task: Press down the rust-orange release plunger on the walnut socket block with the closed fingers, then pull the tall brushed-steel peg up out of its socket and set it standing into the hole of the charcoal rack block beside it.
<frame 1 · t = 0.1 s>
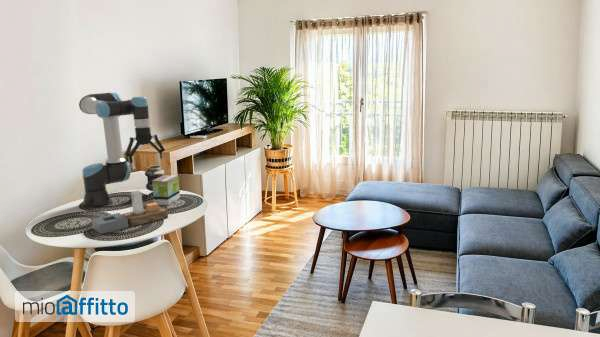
hand: (146, 166, 254), 28 cm above the table, fingers open, 13 cm apart
release plunger: (152, 208, 258), point 5 cm above the table, slide at 0.0 cm
socket block: (145, 219, 256), on the table
steel peg: (139, 220, 254), resting in socket block
apothecary jar: (156, 194, 304), on the table
tea box: (167, 201, 288), on the table
rack block: (110, 227, 245), on the table
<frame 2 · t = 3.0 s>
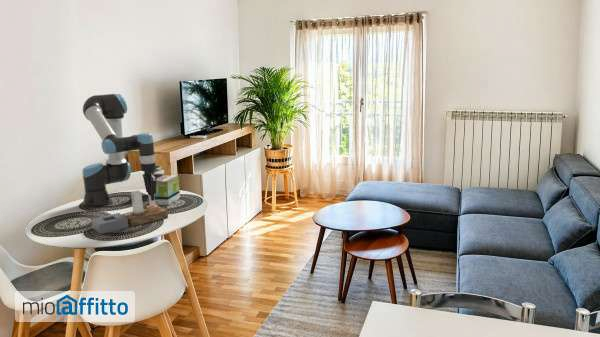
hand: (152, 205, 257), 7 cm above the table, fingers closed
release plunger: (153, 210, 258), point 4 cm above the table, slide at 1.2 cm
everything else where it was.
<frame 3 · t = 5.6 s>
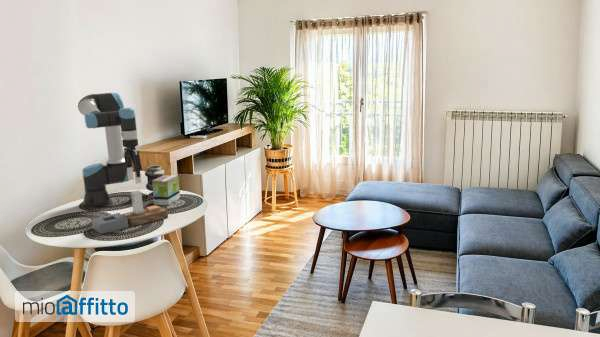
hand: (134, 181, 249), 22 cm above the table, fingers open, 9 cm apart
release plunger: (153, 211, 258), point 3 cm above the table, slide at 1.8 cm
everything else where it was.
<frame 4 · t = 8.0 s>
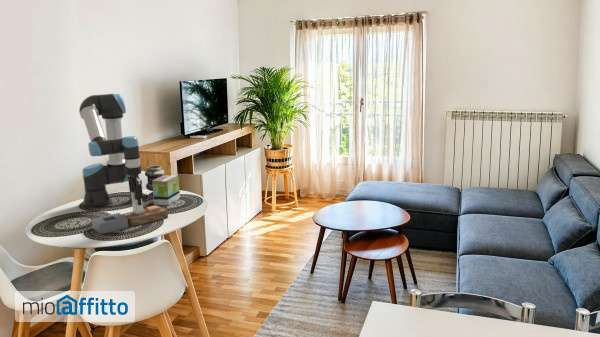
hand: (138, 209, 252), 6 cm above the table, fingers closed on steel peg, 4 cm apart
steel peg: (139, 220, 254), resting in socket block, touching gripper
everything else where it was.
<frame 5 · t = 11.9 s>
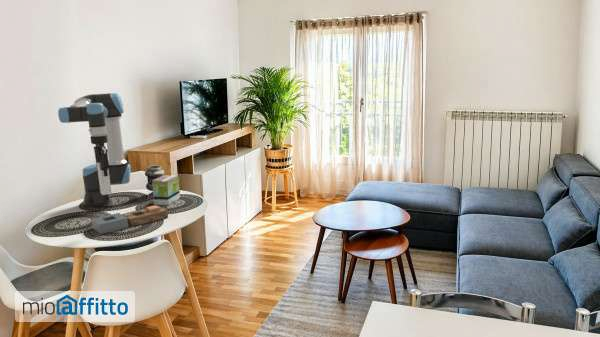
hand: (104, 181, 239), 24 cm above the table, fingers closed on steel peg, 4 cm apart
steel peg: (106, 193, 240), point 18 cm above the table, touching gripper
everything else where it was.
when the fingers open (8 cm above the table, at t = 15.9 s): steel peg drops 1 cm, resting in rack block.
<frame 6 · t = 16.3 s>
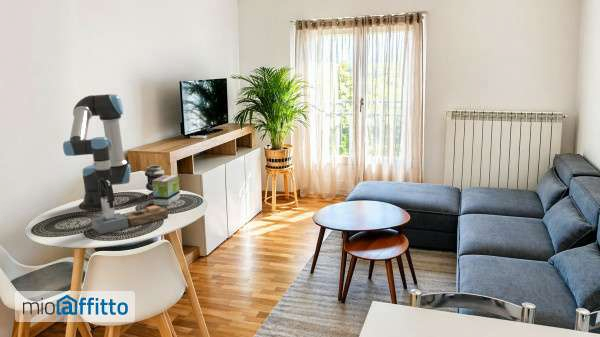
hand: (108, 211, 243), 9 cm above the table, fingers open, 9 cm apart
steel peg: (110, 227, 245), resting in rack block
everything else where it was.
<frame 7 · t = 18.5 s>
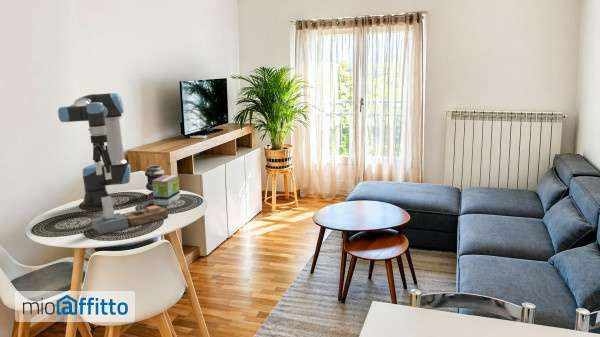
hand: (104, 176, 239), 27 cm above the table, fingers open, 13 cm apart
nothing on the table moved.
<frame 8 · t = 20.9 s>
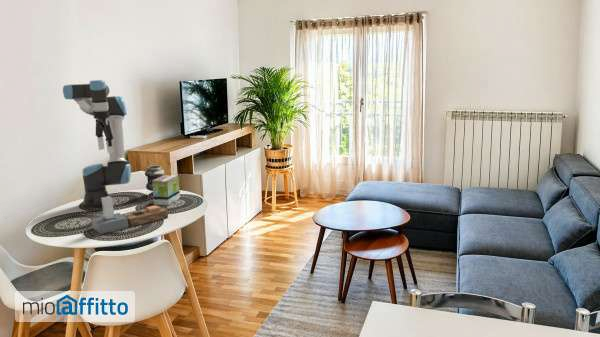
hand: (106, 151, 253), 37 cm above the table, fingers open, 13 cm apart
nothing on the table moved.
at the end: steel peg 0.1 cm off-centre on the rack block, point 0.0 cm above the rack block's base; steel peg tilted 0°; release plunger slide at 1.8 cm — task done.
